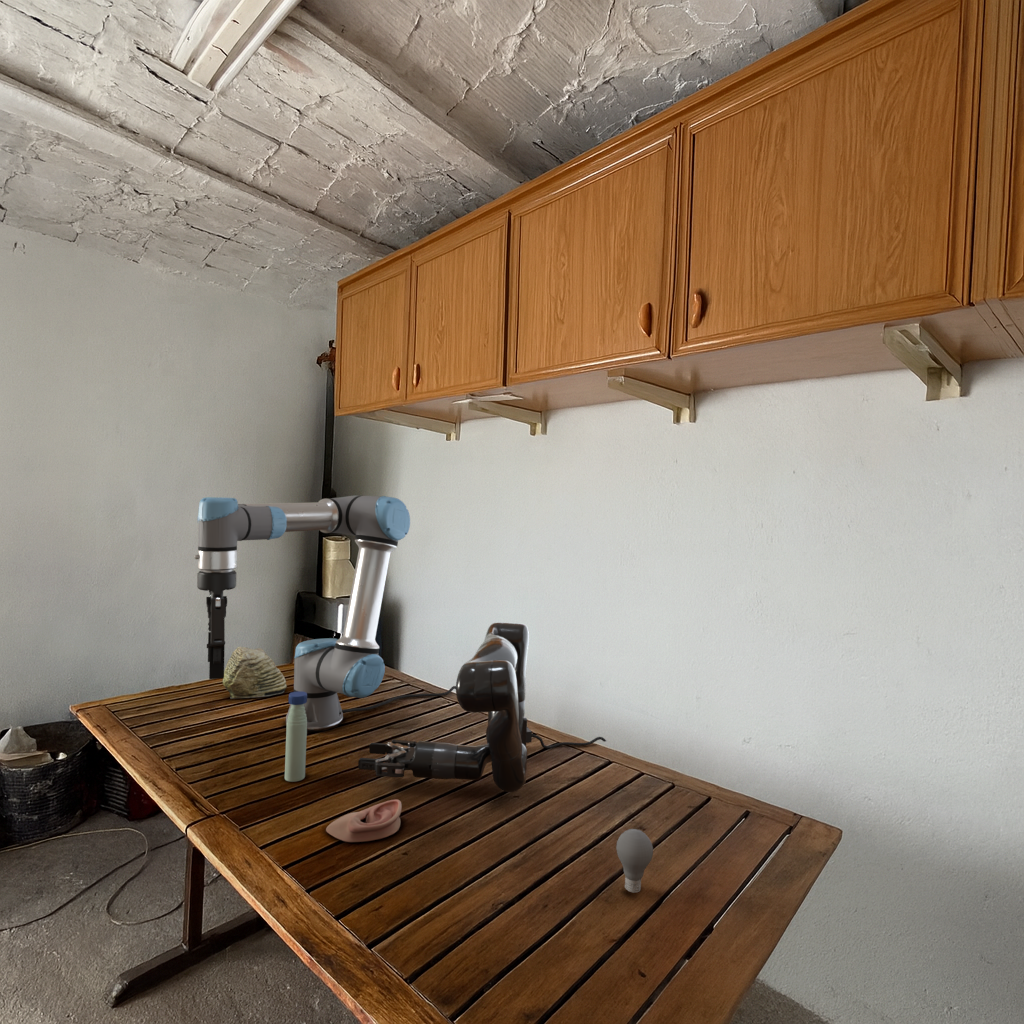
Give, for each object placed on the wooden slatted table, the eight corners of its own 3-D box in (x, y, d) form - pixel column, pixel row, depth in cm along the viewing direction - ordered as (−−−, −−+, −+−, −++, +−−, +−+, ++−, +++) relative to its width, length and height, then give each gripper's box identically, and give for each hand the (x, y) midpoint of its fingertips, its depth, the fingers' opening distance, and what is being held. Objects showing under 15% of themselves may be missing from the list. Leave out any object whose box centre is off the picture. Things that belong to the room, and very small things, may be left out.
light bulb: (610, 879, 108) (613, 822, 108) (644, 879, 109) (647, 822, 109) (619, 902, 102) (622, 840, 102) (655, 901, 103) (658, 840, 103)
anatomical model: (318, 816, 117) (346, 789, 129) (317, 837, 118) (346, 808, 129) (385, 827, 115) (408, 798, 126) (384, 848, 115) (407, 818, 126)
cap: (288, 705, 139) (288, 697, 139) (288, 700, 143) (288, 691, 143) (307, 704, 141) (307, 696, 141) (306, 698, 144) (307, 690, 144)
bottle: (284, 782, 140) (287, 699, 139) (284, 774, 144) (287, 693, 143) (305, 780, 141) (308, 698, 141) (304, 772, 145) (307, 692, 145)
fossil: (218, 695, 195) (220, 647, 195) (278, 685, 208) (279, 640, 207) (228, 703, 189) (230, 653, 188) (289, 692, 201) (290, 645, 201)
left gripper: (197, 563, 144) (195, 656, 144) (197, 579, 121) (196, 688, 122) (233, 562, 147) (231, 653, 148) (240, 577, 125) (238, 684, 125)
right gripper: (442, 731, 147) (373, 727, 148) (431, 756, 133) (355, 751, 134) (441, 763, 147) (372, 759, 148) (430, 791, 133) (353, 786, 134)
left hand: (215, 669), depth 135 cm, fingers open, 13 cm apart
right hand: (364, 755), depth 141 cm, fingers open, 8 cm apart
